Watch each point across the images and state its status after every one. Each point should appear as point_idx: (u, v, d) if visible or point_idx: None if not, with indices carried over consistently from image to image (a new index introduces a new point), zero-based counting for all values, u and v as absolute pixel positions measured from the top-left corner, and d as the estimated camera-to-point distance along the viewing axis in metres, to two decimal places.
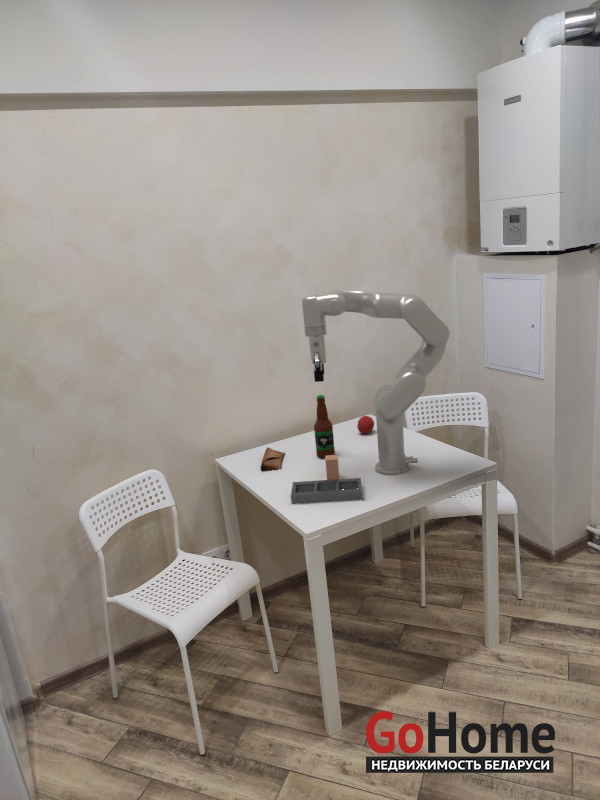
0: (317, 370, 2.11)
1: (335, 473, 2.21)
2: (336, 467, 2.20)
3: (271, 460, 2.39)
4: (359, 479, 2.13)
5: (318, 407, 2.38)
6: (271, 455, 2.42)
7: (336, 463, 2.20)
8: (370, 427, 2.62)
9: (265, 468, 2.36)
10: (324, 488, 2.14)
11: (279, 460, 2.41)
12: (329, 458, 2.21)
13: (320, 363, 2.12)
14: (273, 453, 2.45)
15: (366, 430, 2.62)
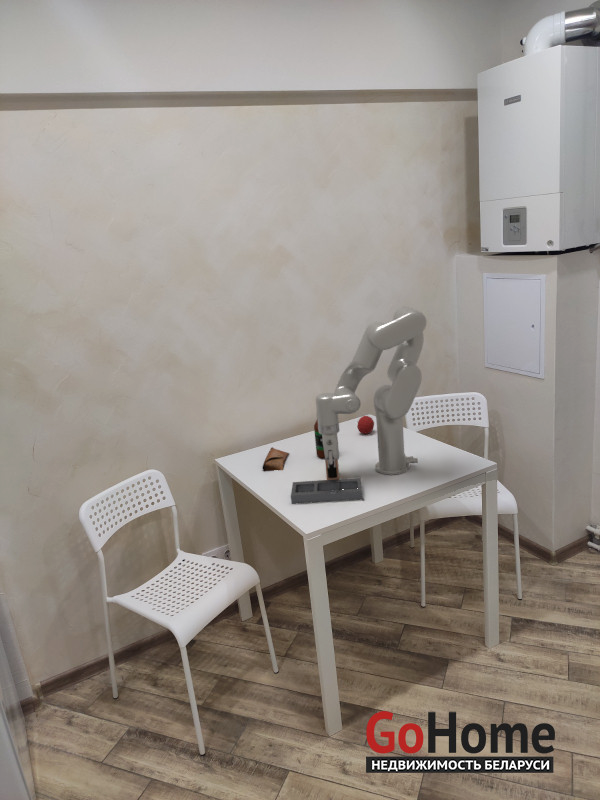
0: (331, 468, 2.19)
1: None
2: (336, 467, 2.20)
3: (273, 460, 2.39)
4: (359, 479, 2.13)
5: None
6: (274, 455, 2.42)
7: (336, 463, 2.20)
8: (370, 427, 2.62)
9: (266, 467, 2.36)
10: (324, 488, 2.14)
11: (282, 460, 2.40)
12: None
13: None
14: (276, 452, 2.44)
15: (366, 430, 2.62)
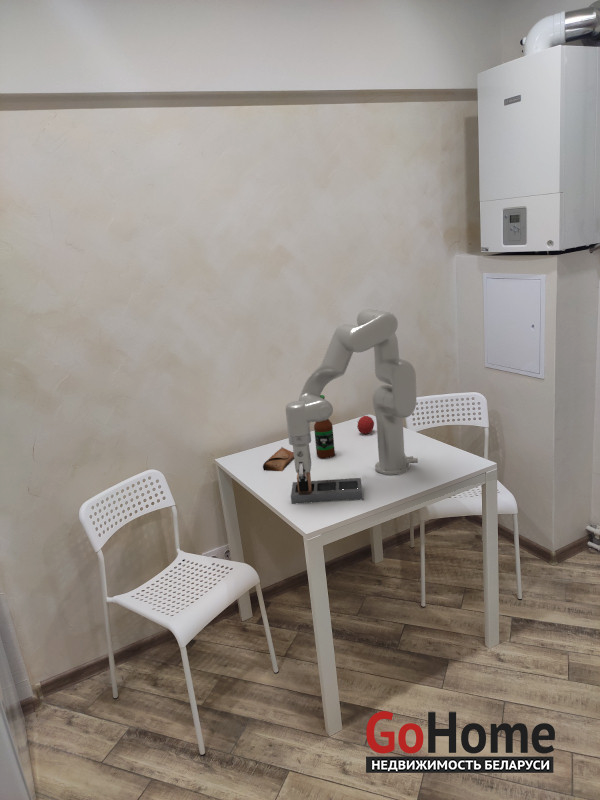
0: (301, 481, 2.04)
1: None
2: (308, 485, 2.08)
3: (276, 460, 2.38)
4: (359, 479, 2.13)
5: None
6: (278, 455, 2.41)
7: (308, 481, 2.07)
8: (370, 427, 2.62)
9: (266, 467, 2.36)
10: (324, 488, 2.14)
11: (284, 461, 2.39)
12: None
13: (305, 473, 2.04)
14: (282, 453, 2.44)
15: (366, 430, 2.62)
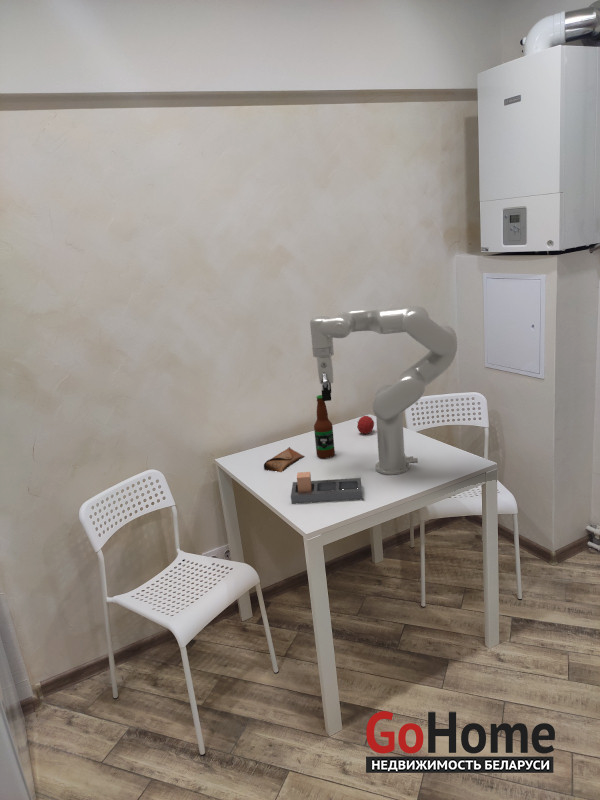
0: (325, 390, 2.18)
1: None
2: (308, 485, 2.08)
3: (277, 461, 2.38)
4: (359, 479, 2.13)
5: (318, 407, 2.38)
6: (281, 456, 2.40)
7: (308, 481, 2.07)
8: (370, 427, 2.62)
9: (267, 467, 2.36)
10: (324, 488, 2.14)
11: (286, 462, 2.38)
12: (301, 476, 2.08)
13: (328, 383, 2.18)
14: (287, 453, 2.42)
15: (366, 430, 2.62)
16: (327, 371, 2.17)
